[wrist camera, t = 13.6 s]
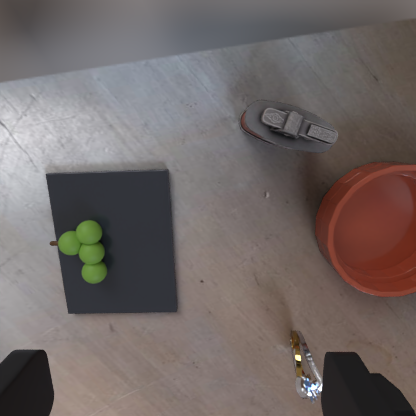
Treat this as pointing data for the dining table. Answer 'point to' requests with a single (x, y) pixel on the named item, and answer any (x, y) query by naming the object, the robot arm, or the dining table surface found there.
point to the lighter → (287, 127)
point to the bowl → (372, 228)
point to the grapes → (85, 249)
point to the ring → (303, 382)
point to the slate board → (118, 239)
